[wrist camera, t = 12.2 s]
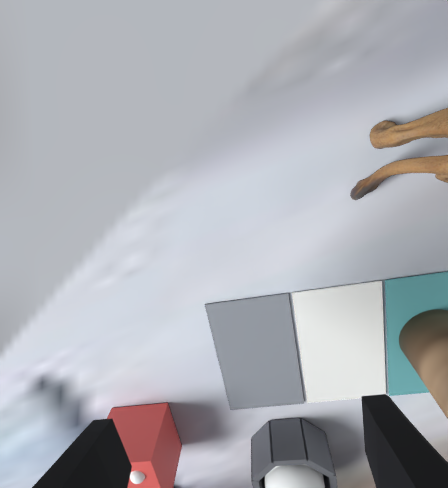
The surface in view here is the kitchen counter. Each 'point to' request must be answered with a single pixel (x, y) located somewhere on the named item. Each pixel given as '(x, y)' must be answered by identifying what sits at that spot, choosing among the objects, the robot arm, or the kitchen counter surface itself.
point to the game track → (321, 342)
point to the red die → (149, 444)
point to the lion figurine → (397, 135)
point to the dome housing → (290, 450)
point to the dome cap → (294, 477)
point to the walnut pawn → (429, 351)
